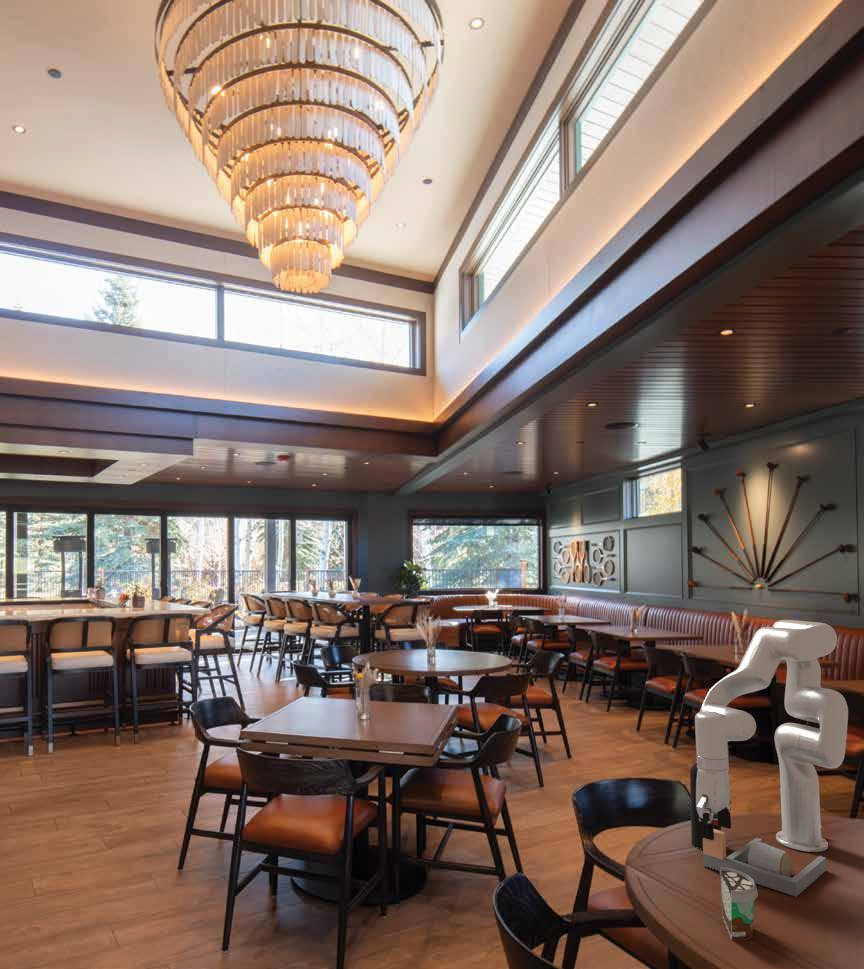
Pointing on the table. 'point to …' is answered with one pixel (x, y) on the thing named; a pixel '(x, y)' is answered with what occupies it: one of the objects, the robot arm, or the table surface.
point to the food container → (737, 902)
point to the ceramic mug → (770, 858)
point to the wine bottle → (695, 822)
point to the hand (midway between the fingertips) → (716, 832)
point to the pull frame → (793, 886)
